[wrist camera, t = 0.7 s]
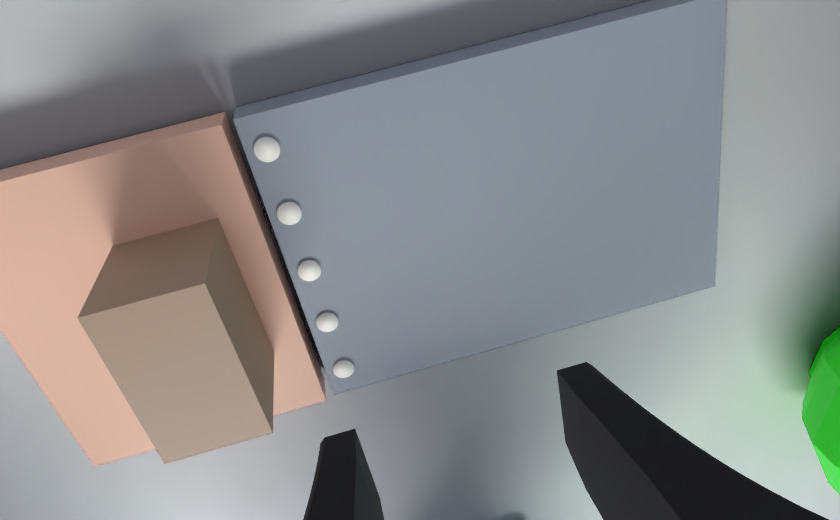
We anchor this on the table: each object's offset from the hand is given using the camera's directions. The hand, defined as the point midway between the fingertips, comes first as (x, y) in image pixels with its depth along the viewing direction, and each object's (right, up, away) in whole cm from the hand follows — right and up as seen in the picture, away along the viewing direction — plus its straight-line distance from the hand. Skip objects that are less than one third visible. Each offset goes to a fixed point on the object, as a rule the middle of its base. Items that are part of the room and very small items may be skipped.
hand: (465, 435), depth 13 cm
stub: (-9, +2, +7) cm, 12 cm away
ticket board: (+2, +5, +8) cm, 10 cm away
